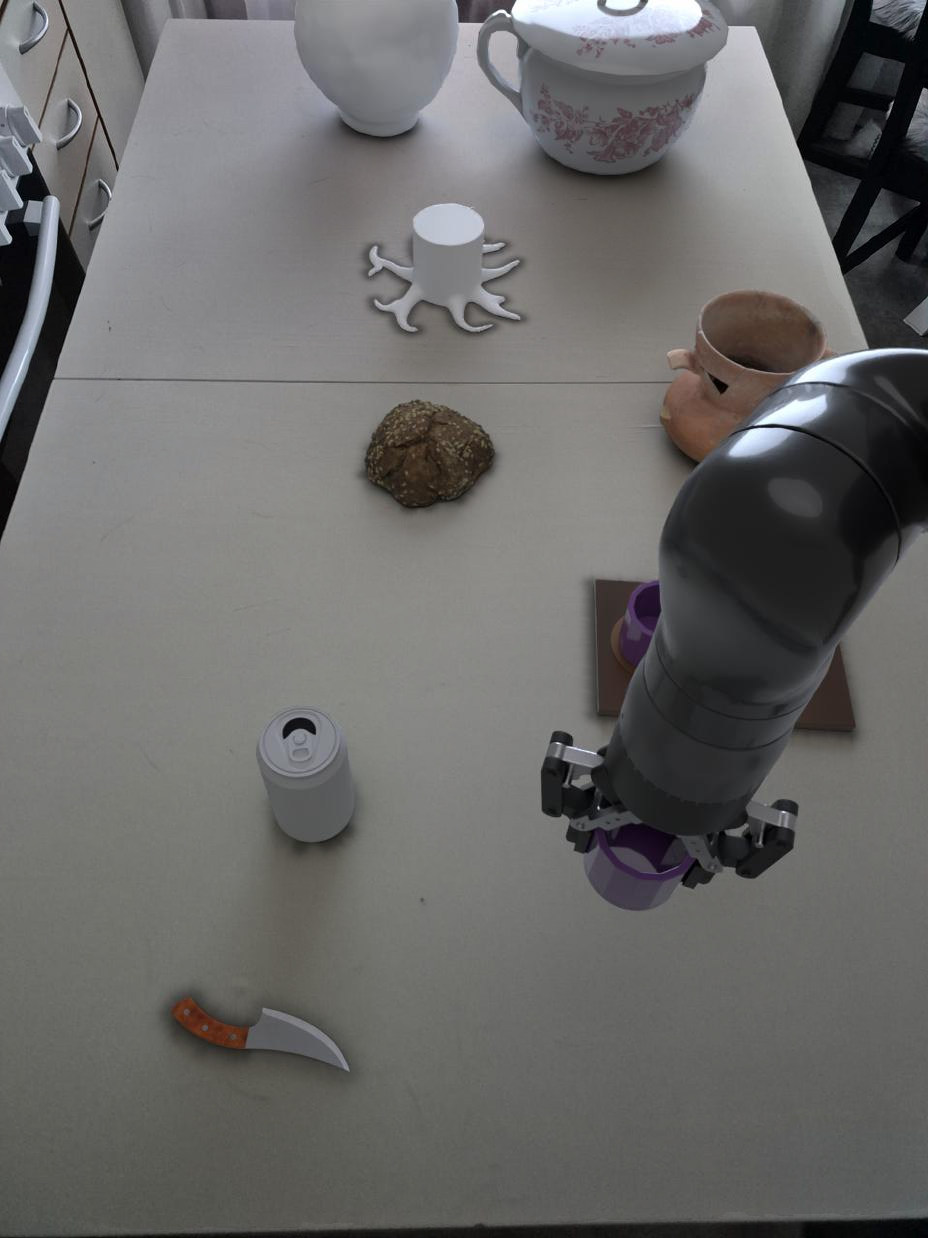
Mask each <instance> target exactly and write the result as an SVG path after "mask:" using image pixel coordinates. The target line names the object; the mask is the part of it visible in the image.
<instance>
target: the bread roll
mask: <svg viewBox="0 0 928 1238" xmlns="http://www.w3.org/2000/svg"><path fill="white" fill-rule="evenodd" d="M495 452H496V451H495V449H494V443H493V441H492V439H491V437H490V434H489V433H487V432H486V431H485V429H483V426H482V425H481V424H478V423H477V422H476V421H473V420H472V419H471V418H468V417H467V416H465V415H462V414H461V412H459V411H458V410H454V409H453V408H452V409H451V408H450V407H448V405H444V404H438V403H436V404H433V403H432V402H431V401H430V400H427V401H423V400H422V401H421V400H420V399H418V398H416V399H415V400H413V399H412V400H410V401H409V402H401V403H397V406H395V407H394V408H393V409H391V410H390V411H389V412H388V413H386V414H385V415H384V417H383V418H382V419H381V422H380V423H379V424H378V426H377V428H376V430H375V431H374V432H372V433H371V442H370V443H369V445H368V448H367V450H366V452H365V458H364V466H365V472H366V474H367V478H368V480H369V481H371V482H372V483H374V484H375V485H377V486H380V487H382V488H385V489H386V490H387V491H388V492H390V493H391V494H392V495H393V496H394V498H395V499H396V500H397V501H398V502H400V504H403V505H405V506H406V507H408V508H415V507H426V506H431V505H432V504H434V503H435V502H436V501H437V500H445V501H450V500H454V499H456V498H459V497H460V496H461V495H462V494H463V493H464V492H466V491H468V490H471V487H472V486H473V485H474V484H475V483H474V482H475V481H476V479H477V477H478V476H479V475H480V474H481V473H482V472H484V471H486V470H489V468H490V467H491V466H492V465H493V464H492V459H493V458H494V456H495V455H496V454H495Z"/></svg>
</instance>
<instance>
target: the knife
mask: <svg viewBox="0 0 928 1238" xmlns="http://www.w3.org/2000/svg"><path fill="white" fill-rule="evenodd" d="M170 1012H171V1014H172V1016H173V1017H174V1018H175V1020H176V1021H177V1022H179V1024H180V1025H181V1026H182V1027H184V1028H185V1029H186V1030H188V1031H189V1032H190V1033H192V1034H193V1035H195V1036H196V1037H198V1038H200V1039H202V1040H204V1041H206V1042H209V1043H211V1044H214V1045H217V1046H220V1047H224V1048H229V1049H235V1050H236V1049H237V1050H269V1051H278V1052H283V1053H284V1052H285V1053H290V1054H296V1055H300V1056H304V1057H307V1058H311V1059H314V1060H318V1061H320V1062H323V1063H326V1064H328V1065H331V1066H334V1067H337V1068H339V1069H342V1070H344V1071H346V1072H349V1073H350V1072H351V1071H350V1068H349V1065H348V1063H347V1061H346V1059H345V1057H344V1055H343V1053H342V1051H341V1050H340V1049H339V1047H338V1045H336V1043H335V1042H334V1041H333V1040H332V1039H331V1038H330V1037H329V1036H328V1035H327V1034H325V1033H324V1032H322V1031H321V1030H320V1029H319V1028H317V1027H316V1026H314V1025H312V1024H311V1023H308V1022H307V1021H304V1020H303V1019H300V1018H298V1017H296V1016H294V1015H291V1014H288V1013H285V1012H281V1011H279V1010H276V1009H271V1008H266V1007H262V1010H261V1015H260V1017H259V1020H258V1022H256V1023H255V1024H254V1025H253V1026H250V1027H249V1026H248V1027H244V1026H243V1027H242V1026H236V1025H235V1026H234V1025H230V1024H226V1023H223V1022H220V1021H218V1020H217V1019H215V1018H212V1017H211V1016H210V1015H208V1014H207V1013H206V1012H204V1011H203V1010H202V1009H201V1008H200V1007H199V1006H198V1005H197V1003H196V1002H195V1001H194V999H193V998H192V997H186V998H184V999H181V1000H179V1001H178V1002H176V1004H175V1005H173V1007H172V1008H171V1009H170Z"/></svg>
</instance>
